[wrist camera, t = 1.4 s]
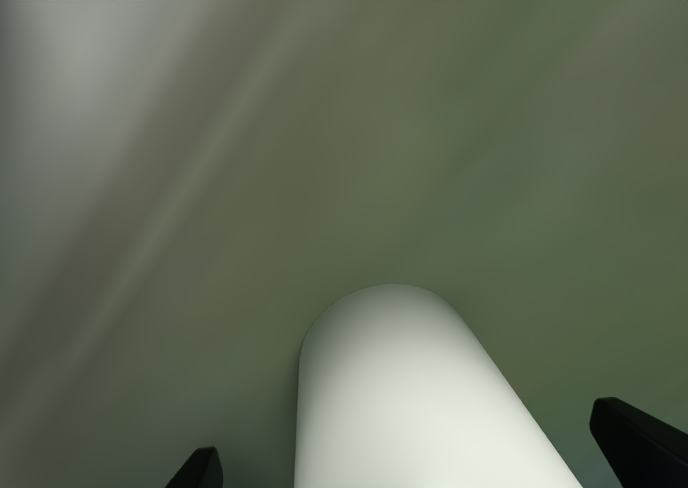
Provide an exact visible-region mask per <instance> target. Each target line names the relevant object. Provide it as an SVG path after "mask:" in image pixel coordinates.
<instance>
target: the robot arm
mask: <svg viewBox="0 0 688 488" xmlns="http://www.w3.org/2000/svg"><path fill="white" fill-rule="evenodd" d="M589 426H590V431H591V433H592V435H593V437H594V439H595V441H596V442H597V444H598V446H599V447H600V449H601V451H602V452H603V454H604V456H605V458H606V459H607V461H608V463H609V464H610V466H611V468H612V469H613V471H614V473H615V475H616V476H617V478H618V480H619V481H620V483H621V485H622V486H623V488H688V434H686V433H684V432H682V431H680V430H678V429H676V428H674V427H672V426H671V425H669V424H667V423H665V422H663V421H661V420H659V419H657V418H655V417H653V416H651V415H649V414H647V413H645V412H643V411H641V410H639V409H637V408H636V407H634V406H632V405H630V404H628V403H626V402H624V401H622V400H620V399H618V398H615V397H605V398H598V399H596V400H595V401H594V405H593V409H592V413H591V418H590V423H589ZM222 487H223V470H222V467H221V463H220V459H219V455H218V452H217V449H216V448H215V447H213V446H211V447H203V448H198V449H196V450H195V451H194V452H193V453H192V455H191V456H190V457H189V458H188V460H187V461H186V462H185V463H184V464H183V466H182V467H181V468H180V469H179V471H178V472H177V473H176V474H175V475H174V477H173V478H172V479H171V480H170V482H169V483H168V484H167V485H166V487H165V488H222Z"/></svg>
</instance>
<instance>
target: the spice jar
mask: <svg viewBox="0 0 688 488" xmlns="http://www.w3.org/2000/svg"><path fill="white" fill-rule="evenodd" d="M294 488H582V486H581V485H580V483H579V482H578V481H577V479H576V478H575V476H574V475H573V474H572V472H571V471H570V469H569V468H568V467H567V465H566V464H565V462H564V461H563V459H562V458H561V457H560V455H559V454H558V452H557V451H556V450H555V448H554V447H553V445H552V444H551V443H550V441H549V440H548V438H547V437H546V436H545V434H544V433H543V431H542V430H541V428H540V427H539V426H538V424H537V423H536V421H535V420H534V419H533V417H532V416H531V414H530V413H529V412H528V410H527V409H526V407H525V406H524V405H523V403H522V402H521V400H520V399H519V397H518V396H517V395H516V393H515V392H514V390H513V389H512V388H511V386H510V385H509V383H508V382H507V381H506V379H505V378H504V376H503V375H502V374H501V372H500V371H499V369H498V368H497V366H496V365H495V364H494V362H493V361H492V359H491V358H490V357H489V355H488V354H487V352H486V351H485V350H484V348H483V347H482V345H481V344H480V343H479V341H478V340H477V338H476V337H475V335H474V334H473V333H472V331H471V330H470V328H469V327H468V326H467V324H466V323H465V321H464V320H463V319H462V317H461V316H460V314H459V313H458V312H457V311H456V309H455V308H454V307H453V306H452V305H451V304H450V303H449V302H447V301H446V300H445V299H443V298H442V297H440V296H439V295H437V294H435V293H433V292H431V291H429V290H426V289H423V288H420V287H416V286H411V285H403V284H383V285H377V286H371V287H367V288H364V289H360V290H358V291H355V292H353V293H350V294H348V295H346V296H344V297H343V298H341V299H339V300H337V301H336V302H335V303H333V304H332V305H331V306H329V307H328V308H327V309H326V310H325V311H324V312H323V313H321V314H320V315H319V317H318V318H317V319H316V320H315V322H314V323H313V324H312V326H311V327H310V329H309V331H308V332H307V334H306V336H305V339H304V341H303V344H302V348H301V352H300V361H299V383H298V406H297V428H296V451H295V473H294Z"/></svg>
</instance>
